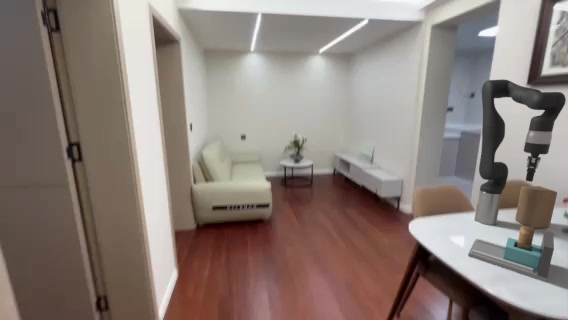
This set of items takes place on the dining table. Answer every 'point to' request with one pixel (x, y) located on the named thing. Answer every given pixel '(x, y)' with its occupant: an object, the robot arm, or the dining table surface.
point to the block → (535, 206)
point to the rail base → (496, 254)
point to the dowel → (525, 238)
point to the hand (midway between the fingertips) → (529, 178)
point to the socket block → (522, 254)
